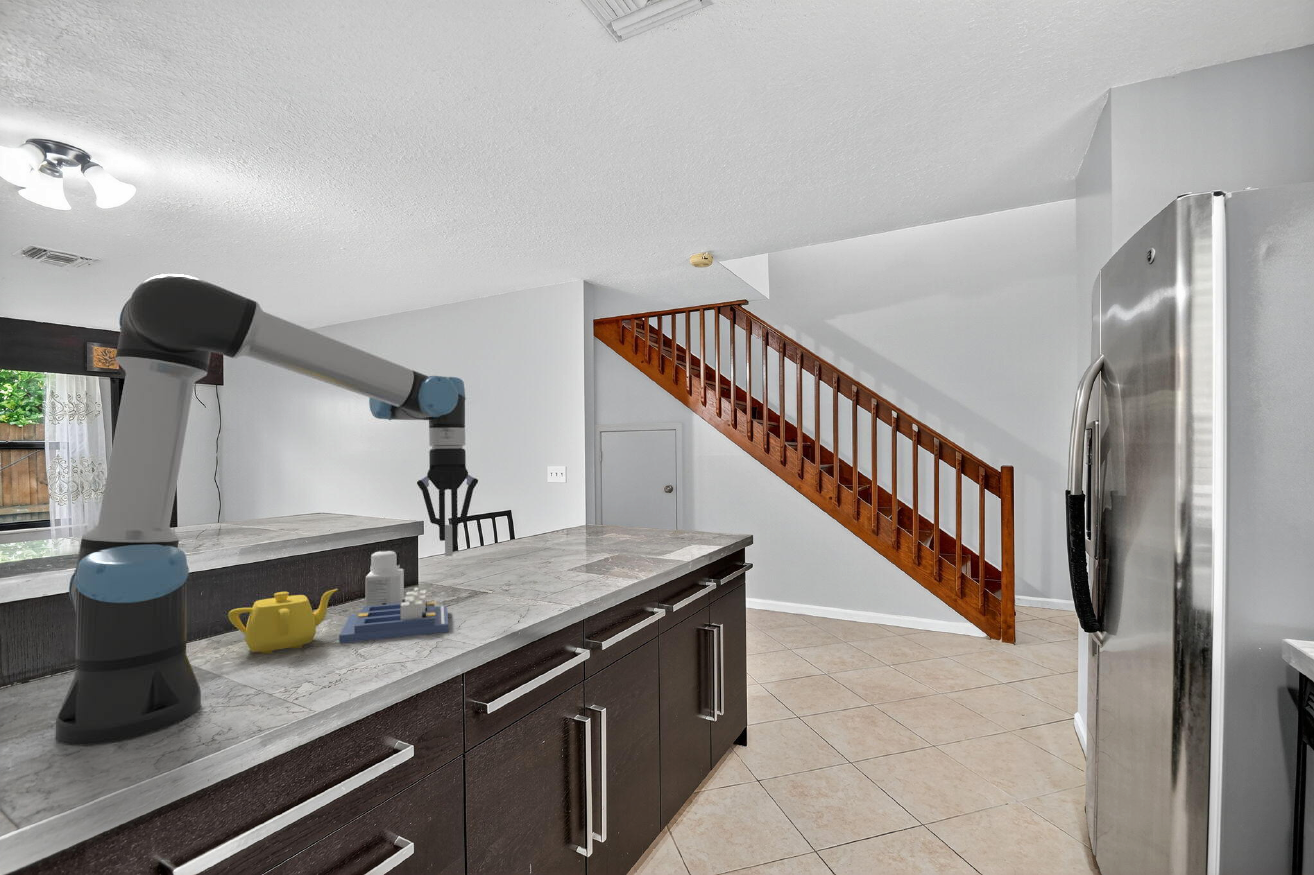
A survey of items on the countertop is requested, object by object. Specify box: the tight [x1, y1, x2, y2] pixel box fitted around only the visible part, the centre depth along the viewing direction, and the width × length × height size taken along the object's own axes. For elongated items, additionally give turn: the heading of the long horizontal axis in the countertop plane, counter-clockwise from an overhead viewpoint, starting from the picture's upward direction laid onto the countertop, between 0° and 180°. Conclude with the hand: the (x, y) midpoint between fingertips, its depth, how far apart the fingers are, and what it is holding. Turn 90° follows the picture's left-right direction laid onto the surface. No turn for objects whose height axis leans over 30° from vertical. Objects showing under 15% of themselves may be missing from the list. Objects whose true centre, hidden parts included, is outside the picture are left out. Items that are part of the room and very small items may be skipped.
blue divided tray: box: [338, 600, 449, 644], centre depth 127 cm, size 20×16×3 cm
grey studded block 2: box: [401, 598, 422, 620], centre depth 123 cm, size 4×3×5 cm
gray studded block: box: [404, 592, 425, 612], centre depth 128 cm, size 4×3×5 cm
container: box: [364, 549, 405, 607], centre depth 146 cm, size 8×8×13 cm
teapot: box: [227, 588, 338, 655], centre depth 115 cm, size 14×13×10 cm
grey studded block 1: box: [405, 587, 427, 606], centre depth 133 cm, size 4×3×5 cm
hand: (448, 555), depth 131 cm, fingers closed
